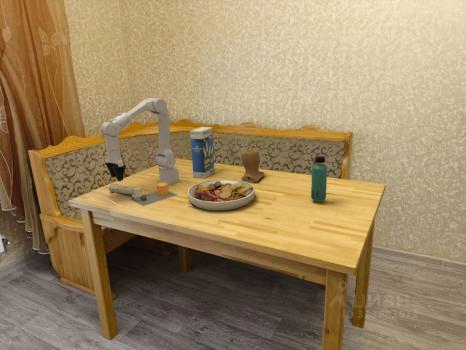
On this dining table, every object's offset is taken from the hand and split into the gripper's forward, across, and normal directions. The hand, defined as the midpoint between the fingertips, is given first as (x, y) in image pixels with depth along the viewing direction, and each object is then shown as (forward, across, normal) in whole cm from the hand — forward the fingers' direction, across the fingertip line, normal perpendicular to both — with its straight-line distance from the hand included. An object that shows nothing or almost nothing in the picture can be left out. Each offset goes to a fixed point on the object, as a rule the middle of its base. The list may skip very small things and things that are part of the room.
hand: (117, 178), depth 152 cm
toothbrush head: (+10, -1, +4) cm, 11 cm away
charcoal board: (+10, +11, +12) cm, 19 cm away
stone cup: (+10, +20, +64) cm, 68 cm away
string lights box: (+10, -4, +49) cm, 51 cm away
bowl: (+11, +33, +34) cm, 48 cm away
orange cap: (+9, +10, +17) cm, 22 cm away
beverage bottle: (+10, +64, +62) cm, 90 cm away
